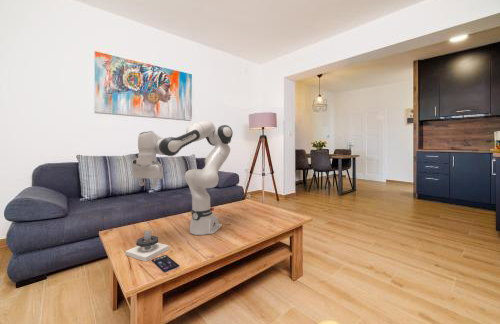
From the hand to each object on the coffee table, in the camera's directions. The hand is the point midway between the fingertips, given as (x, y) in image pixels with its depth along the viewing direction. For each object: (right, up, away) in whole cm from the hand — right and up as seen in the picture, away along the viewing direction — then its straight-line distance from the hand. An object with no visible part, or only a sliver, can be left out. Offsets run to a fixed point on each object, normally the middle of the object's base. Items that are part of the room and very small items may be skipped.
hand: (147, 186), depth 121 cm
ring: (+5, -26, -11) cm, 29 cm away
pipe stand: (+5, -32, -10) cm, 34 cm away
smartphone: (+18, -33, -21) cm, 43 cm away
